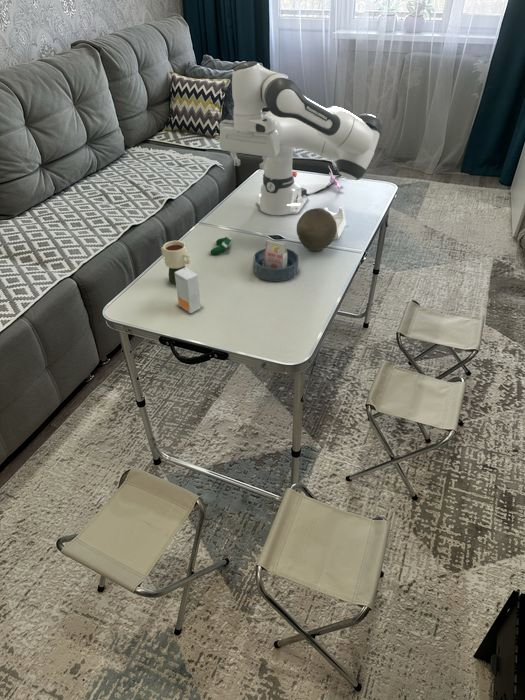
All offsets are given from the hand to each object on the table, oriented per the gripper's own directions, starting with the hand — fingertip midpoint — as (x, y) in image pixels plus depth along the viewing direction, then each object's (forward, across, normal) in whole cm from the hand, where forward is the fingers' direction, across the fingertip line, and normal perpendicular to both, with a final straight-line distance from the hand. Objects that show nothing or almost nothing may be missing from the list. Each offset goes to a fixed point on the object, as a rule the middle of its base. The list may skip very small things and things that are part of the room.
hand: (249, 167), depth 166 cm
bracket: (+30, +20, +25) cm, 44 cm away
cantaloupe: (+30, +20, +9) cm, 37 cm away
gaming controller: (+29, -10, -6) cm, 31 cm away
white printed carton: (+29, +14, -11) cm, 34 cm away
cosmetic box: (+30, 0, -42) cm, 51 cm away
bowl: (+30, +14, -11) cm, 34 cm away
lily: (+29, +7, +63) cm, 70 cm away
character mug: (+29, -11, -31) cm, 44 cm away
